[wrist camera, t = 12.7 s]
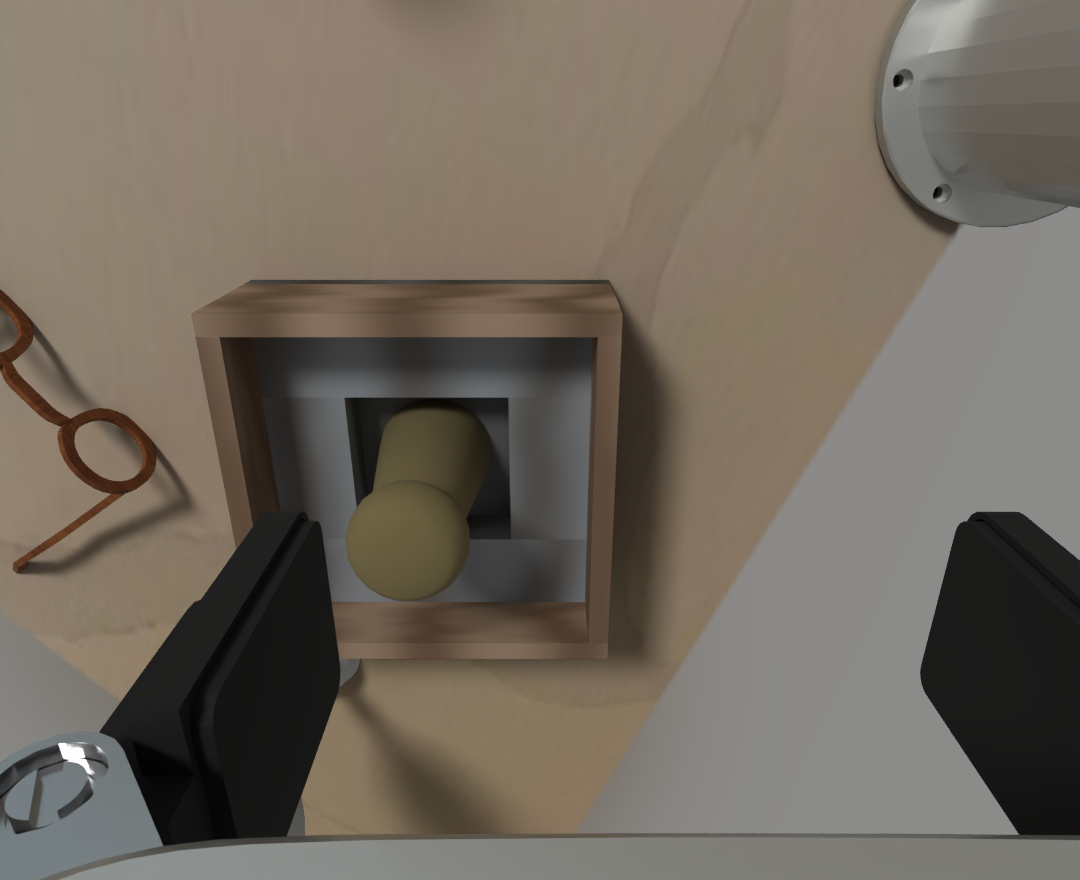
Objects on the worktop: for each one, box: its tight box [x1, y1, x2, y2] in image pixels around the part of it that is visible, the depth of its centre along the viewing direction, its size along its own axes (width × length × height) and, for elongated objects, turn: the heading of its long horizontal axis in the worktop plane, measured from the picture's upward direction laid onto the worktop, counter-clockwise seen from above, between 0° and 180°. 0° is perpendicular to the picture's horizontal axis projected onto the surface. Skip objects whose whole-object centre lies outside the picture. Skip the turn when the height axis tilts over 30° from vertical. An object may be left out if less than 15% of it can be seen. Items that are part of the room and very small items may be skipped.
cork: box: [346, 399, 492, 601], centre depth 35 cm, size 6×6×11 cm
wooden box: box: [191, 280, 623, 659], centre depth 38 cm, size 18×18×7 cm
